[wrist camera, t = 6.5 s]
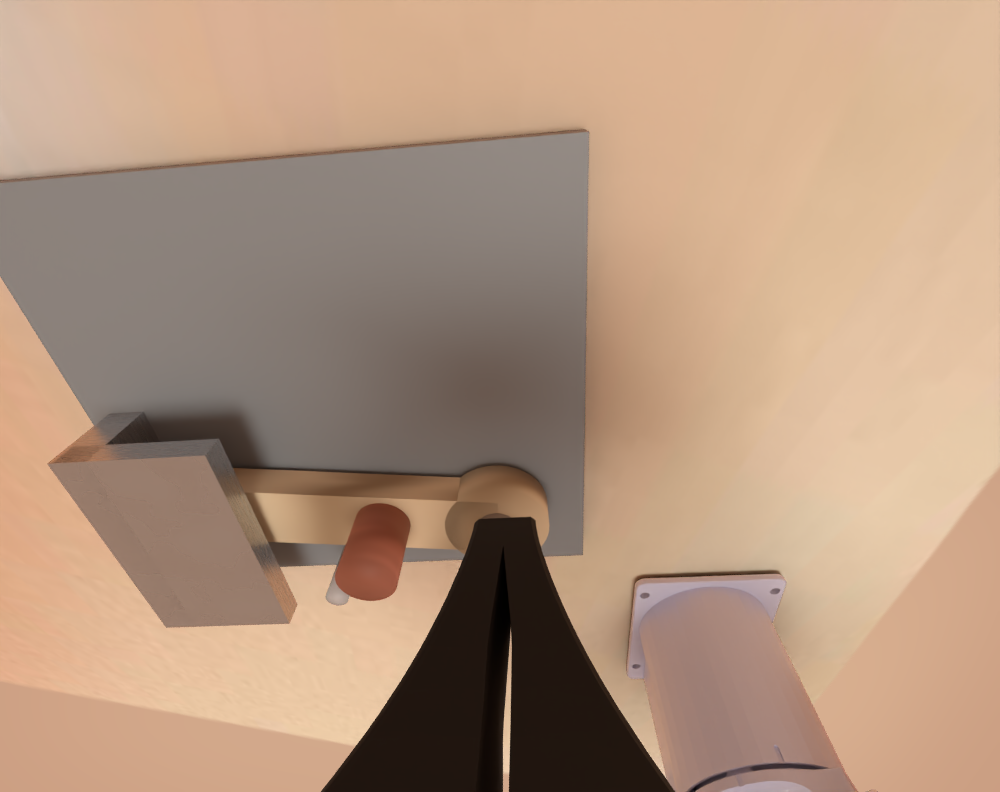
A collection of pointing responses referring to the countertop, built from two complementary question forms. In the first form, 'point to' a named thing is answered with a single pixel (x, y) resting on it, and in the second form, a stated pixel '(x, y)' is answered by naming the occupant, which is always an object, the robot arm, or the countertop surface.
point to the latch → (386, 515)
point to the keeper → (176, 524)
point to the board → (328, 309)
